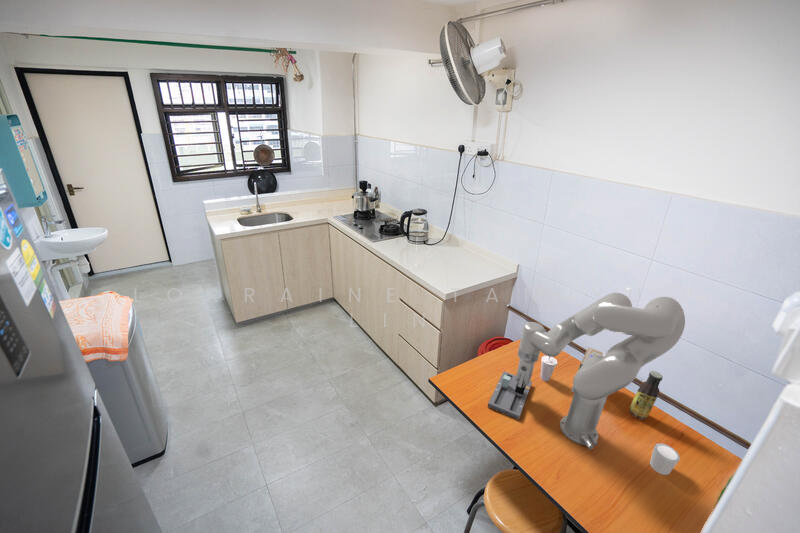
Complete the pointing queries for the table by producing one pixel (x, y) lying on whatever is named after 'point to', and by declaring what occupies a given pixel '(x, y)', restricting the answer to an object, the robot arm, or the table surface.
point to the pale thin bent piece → (588, 354)
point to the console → (508, 398)
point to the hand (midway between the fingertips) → (519, 390)
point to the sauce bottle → (646, 396)
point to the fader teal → (505, 382)
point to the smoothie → (547, 367)
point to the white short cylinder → (664, 459)
